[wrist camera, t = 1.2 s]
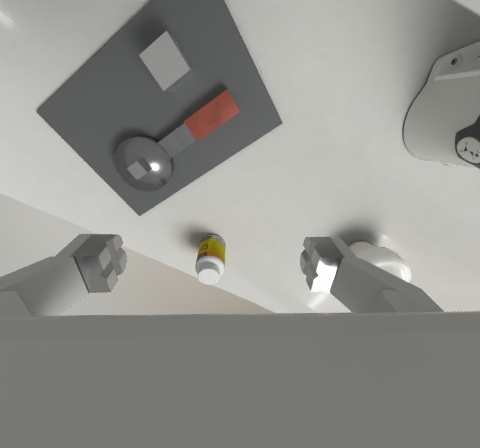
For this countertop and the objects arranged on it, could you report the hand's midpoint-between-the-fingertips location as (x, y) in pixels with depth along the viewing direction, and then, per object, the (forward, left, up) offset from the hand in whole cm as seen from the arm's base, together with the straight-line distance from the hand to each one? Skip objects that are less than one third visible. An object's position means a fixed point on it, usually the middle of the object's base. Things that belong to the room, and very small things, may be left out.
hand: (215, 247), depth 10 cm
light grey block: (+1, -12, -31) cm, 33 cm away
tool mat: (+7, -8, -32) cm, 34 cm away
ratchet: (+8, -4, -31) cm, 32 cm away
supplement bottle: (+15, +17, -32) cm, 39 cm away
